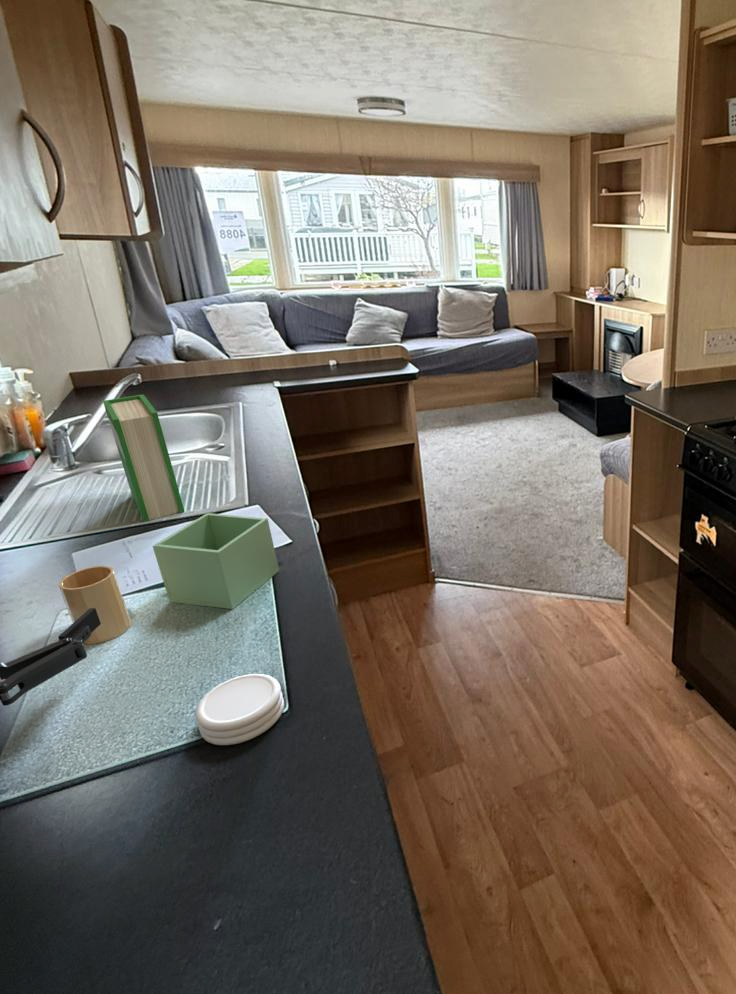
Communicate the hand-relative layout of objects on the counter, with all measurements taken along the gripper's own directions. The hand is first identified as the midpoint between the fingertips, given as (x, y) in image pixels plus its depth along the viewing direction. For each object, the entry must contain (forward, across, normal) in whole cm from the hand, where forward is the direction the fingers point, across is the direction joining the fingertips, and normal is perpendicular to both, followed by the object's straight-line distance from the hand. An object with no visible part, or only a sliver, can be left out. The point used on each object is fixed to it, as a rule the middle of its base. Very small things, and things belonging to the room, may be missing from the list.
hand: (45, 618), depth 92 cm
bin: (+21, +14, -9) cm, 27 cm away
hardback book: (+55, -16, -9) cm, 58 cm away
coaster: (-12, +30, -9) cm, 34 cm away
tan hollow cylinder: (+10, 0, -9) cm, 13 cm away
